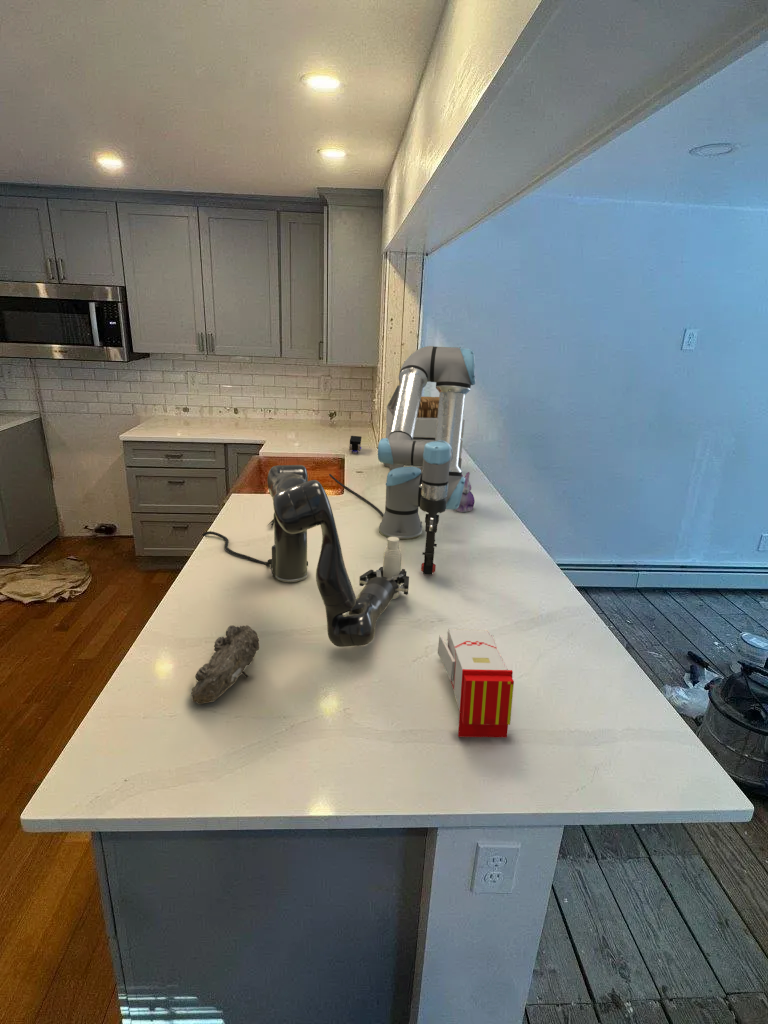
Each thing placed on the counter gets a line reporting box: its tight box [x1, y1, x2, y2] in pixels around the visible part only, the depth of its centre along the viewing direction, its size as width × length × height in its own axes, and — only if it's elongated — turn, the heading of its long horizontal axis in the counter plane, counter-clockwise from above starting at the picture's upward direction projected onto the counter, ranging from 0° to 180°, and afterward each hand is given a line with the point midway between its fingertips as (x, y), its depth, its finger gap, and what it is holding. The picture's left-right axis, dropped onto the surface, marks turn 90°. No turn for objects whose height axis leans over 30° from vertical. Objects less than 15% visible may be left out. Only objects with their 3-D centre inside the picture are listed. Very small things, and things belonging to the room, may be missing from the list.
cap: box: [420, 562, 437, 574], centre depth 170 cm, size 4×4×2 cm
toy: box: [437, 628, 515, 738], centre depth 117 cm, size 12×13×30 cm
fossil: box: [191, 624, 260, 705], centre depth 119 cm, size 22×10×15 cm
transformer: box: [382, 384, 465, 472], centre depth 268 cm, size 34×33×41 cm
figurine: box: [455, 471, 476, 513], centre depth 225 cm, size 9×10×15 cm
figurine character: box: [348, 435, 363, 455], centre depth 309 cm, size 7×8×15 cm
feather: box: [266, 518, 274, 529], centre depth 211 cm, size 2×28×2 cm
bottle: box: [382, 537, 403, 600], centre depth 154 cm, size 5×5×17 cm
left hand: (394, 570), depth 157 cm, fingers closed on bottle, 5 cm apart
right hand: (428, 570), depth 170 cm, fingers closed on cap, 4 cm apart
